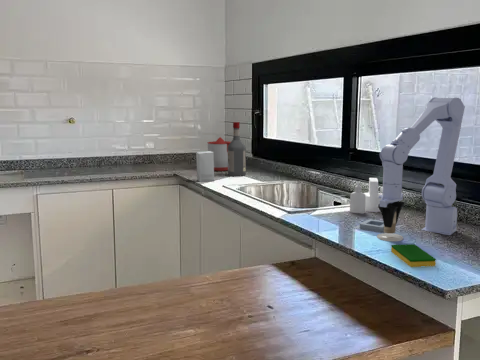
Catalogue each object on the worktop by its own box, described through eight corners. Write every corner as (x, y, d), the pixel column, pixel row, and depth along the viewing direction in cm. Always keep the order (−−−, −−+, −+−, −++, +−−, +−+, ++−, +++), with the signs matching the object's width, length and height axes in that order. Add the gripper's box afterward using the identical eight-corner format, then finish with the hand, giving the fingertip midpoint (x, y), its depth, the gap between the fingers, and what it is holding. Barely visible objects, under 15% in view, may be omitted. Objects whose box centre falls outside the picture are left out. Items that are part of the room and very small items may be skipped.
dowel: (397, 231, 160) (398, 211, 159) (392, 234, 157) (393, 213, 156) (386, 229, 162) (387, 210, 161) (381, 232, 160) (382, 212, 159)
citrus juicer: (226, 172, 296) (225, 138, 293) (202, 170, 306) (201, 137, 302) (240, 169, 309) (240, 136, 306) (217, 167, 319) (217, 135, 315)
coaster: (406, 238, 161) (406, 235, 161) (397, 244, 155) (397, 241, 155) (382, 234, 166) (382, 231, 166) (372, 239, 159) (372, 237, 159)
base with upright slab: (385, 212, 196) (386, 181, 194) (361, 211, 198) (362, 181, 196) (383, 207, 205) (384, 178, 203) (360, 206, 207) (361, 177, 205)
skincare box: (211, 179, 275) (210, 150, 272) (214, 181, 268) (214, 152, 266) (196, 180, 272) (195, 151, 269) (199, 182, 266) (198, 152, 263)
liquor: (230, 177, 281) (230, 123, 276) (227, 174, 290) (226, 122, 285) (246, 176, 284) (246, 122, 278) (242, 173, 292) (242, 121, 287)
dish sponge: (414, 251, 149) (414, 243, 148) (435, 267, 135) (436, 258, 135) (390, 252, 148) (390, 244, 148) (410, 268, 135) (410, 259, 134)
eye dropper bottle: (356, 211, 198) (356, 181, 196) (366, 214, 194) (367, 183, 192) (347, 212, 196) (348, 182, 194) (358, 215, 191) (359, 184, 189)
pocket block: (397, 228, 173) (398, 222, 172) (386, 234, 165) (387, 229, 164) (364, 223, 180) (365, 217, 179) (352, 229, 172) (352, 223, 172)
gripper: (388, 178, 165) (386, 219, 168) (370, 185, 154) (369, 228, 156) (410, 180, 161) (407, 222, 163) (393, 187, 150) (391, 232, 152)
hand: (390, 225), depth 159 cm, fingers closed on dowel, 4 cm apart
